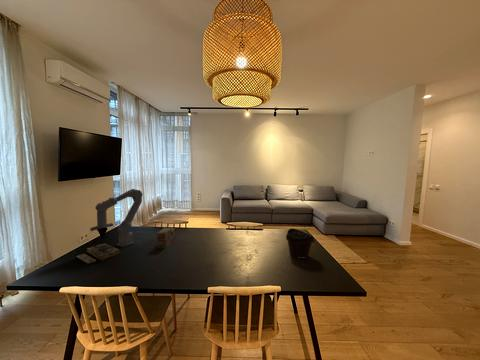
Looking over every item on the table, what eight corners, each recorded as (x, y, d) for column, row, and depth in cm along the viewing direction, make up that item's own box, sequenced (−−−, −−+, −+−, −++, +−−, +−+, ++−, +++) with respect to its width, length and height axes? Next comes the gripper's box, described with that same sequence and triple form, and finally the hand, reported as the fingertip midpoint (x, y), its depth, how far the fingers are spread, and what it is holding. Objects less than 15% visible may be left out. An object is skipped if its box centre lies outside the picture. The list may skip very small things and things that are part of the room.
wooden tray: (105, 247, 161) (105, 243, 161) (119, 253, 150) (119, 249, 150) (87, 252, 151) (87, 248, 151) (101, 260, 140) (100, 255, 140)
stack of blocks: (168, 238, 182) (168, 224, 181) (175, 238, 182) (175, 224, 181) (157, 248, 161) (157, 232, 160) (165, 249, 160) (165, 233, 159)
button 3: (109, 252, 150) (109, 248, 150) (112, 254, 148) (112, 250, 147) (102, 254, 146) (102, 250, 146) (106, 256, 144) (106, 252, 144)
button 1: (100, 248, 157) (100, 244, 157) (103, 249, 155) (103, 245, 154) (93, 250, 153) (93, 246, 153) (96, 251, 151) (96, 247, 151)
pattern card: (84, 254, 148) (84, 253, 148) (96, 260, 139) (96, 260, 139) (76, 256, 144) (76, 256, 144) (87, 263, 135) (87, 263, 135)
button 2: (104, 247, 153) (104, 243, 153) (108, 249, 151) (107, 245, 151) (98, 249, 150) (98, 245, 149) (101, 251, 147) (101, 247, 147)
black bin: (315, 262, 144) (316, 236, 143) (285, 259, 148) (286, 234, 147) (312, 252, 161) (313, 228, 160) (285, 249, 165) (286, 226, 164)
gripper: (93, 223, 145) (94, 242, 146) (115, 218, 157) (115, 236, 159) (88, 221, 149) (89, 240, 150) (110, 216, 161) (110, 234, 162)
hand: (102, 238), depth 155 cm, fingers closed
